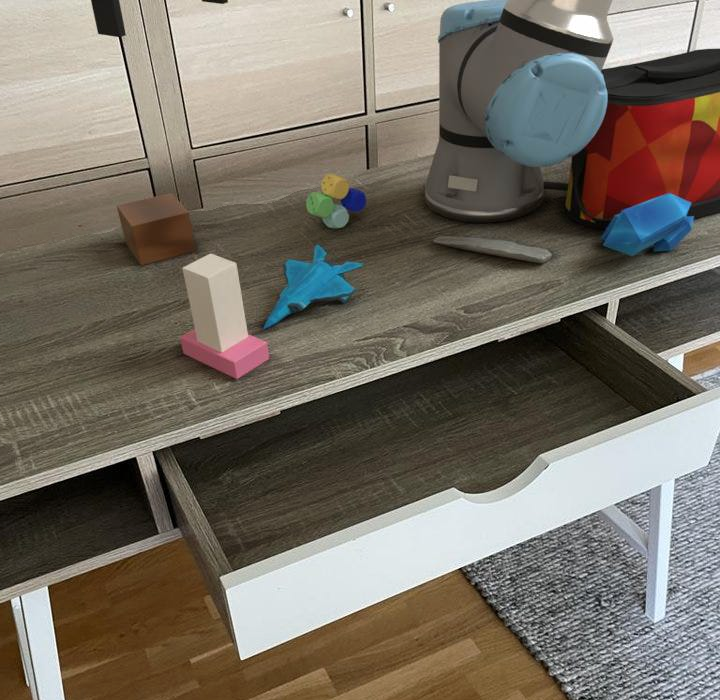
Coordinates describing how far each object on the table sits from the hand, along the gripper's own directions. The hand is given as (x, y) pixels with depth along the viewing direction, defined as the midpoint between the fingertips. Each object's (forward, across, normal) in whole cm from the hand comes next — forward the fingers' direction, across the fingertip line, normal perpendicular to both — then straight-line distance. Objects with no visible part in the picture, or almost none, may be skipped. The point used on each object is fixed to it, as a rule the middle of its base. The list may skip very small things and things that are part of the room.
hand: (166, 18), depth 80 cm
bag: (+27, -46, +36) cm, 64 cm away
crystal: (+22, -36, +42) cm, 59 cm away
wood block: (+28, -5, -13) cm, 31 cm away
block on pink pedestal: (+28, +10, +11) cm, 31 cm away
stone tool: (+27, -26, +23) cm, 44 cm away
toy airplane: (+28, -3, +12) cm, 30 cm away
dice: (+28, -21, +3) cm, 35 cm away
